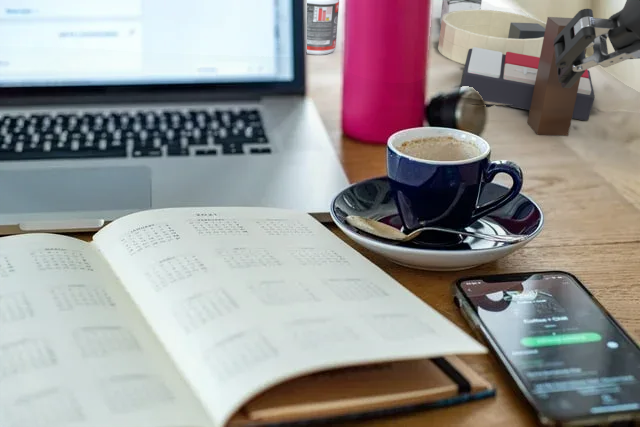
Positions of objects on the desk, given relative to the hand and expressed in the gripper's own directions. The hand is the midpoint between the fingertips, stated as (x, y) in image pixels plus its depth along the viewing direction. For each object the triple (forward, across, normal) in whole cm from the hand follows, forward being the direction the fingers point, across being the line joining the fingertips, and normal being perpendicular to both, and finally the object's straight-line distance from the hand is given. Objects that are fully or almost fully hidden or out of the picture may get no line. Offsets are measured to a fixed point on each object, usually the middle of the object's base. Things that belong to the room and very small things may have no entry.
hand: (607, 80), depth 83 cm
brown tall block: (+14, 0, -1) cm, 14 cm away
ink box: (+42, +1, -28) cm, 50 cm away
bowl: (+32, -1, -19) cm, 38 cm away
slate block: (+32, -5, -20) cm, 38 cm away
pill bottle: (+34, +24, -20) cm, 46 cm away
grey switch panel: (+22, 0, -8) cm, 23 cm away
